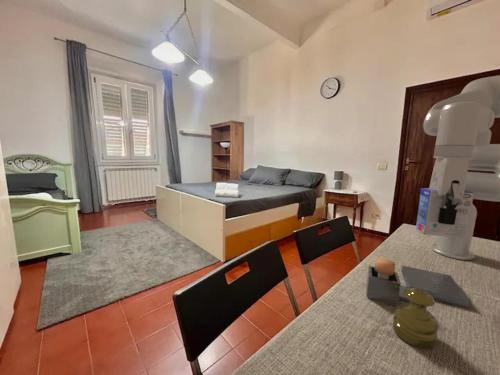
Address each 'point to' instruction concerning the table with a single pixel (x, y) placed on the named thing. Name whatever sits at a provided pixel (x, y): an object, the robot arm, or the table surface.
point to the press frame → (414, 286)
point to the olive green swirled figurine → (416, 320)
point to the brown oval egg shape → (384, 267)
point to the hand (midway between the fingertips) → (441, 219)
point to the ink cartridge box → (431, 210)
